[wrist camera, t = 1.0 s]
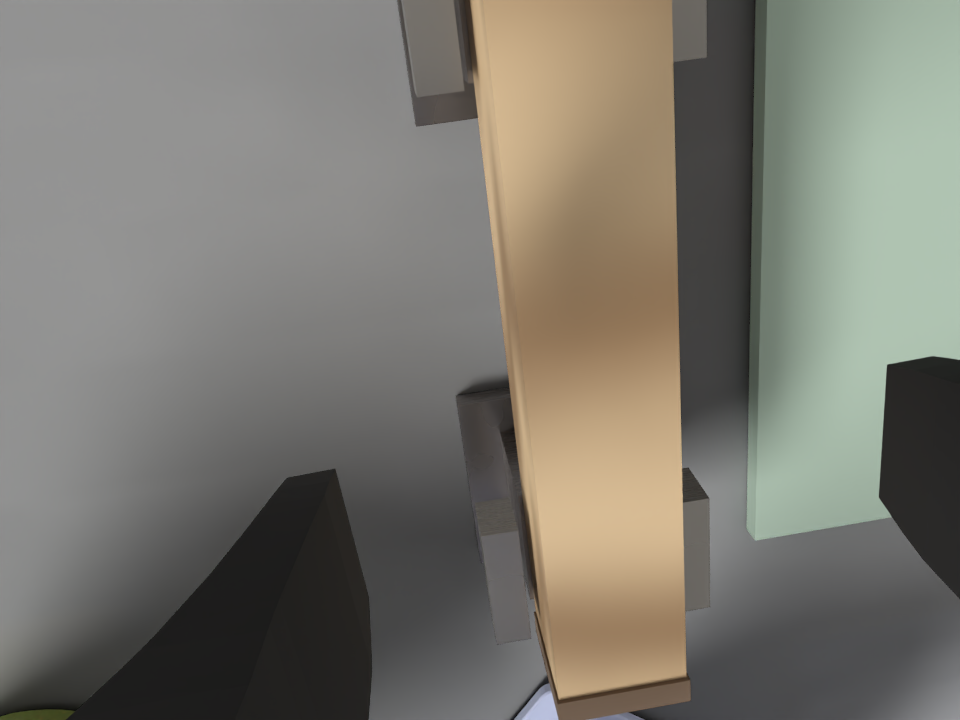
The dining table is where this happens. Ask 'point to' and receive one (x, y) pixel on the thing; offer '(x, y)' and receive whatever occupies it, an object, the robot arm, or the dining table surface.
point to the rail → (591, 332)
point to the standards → (488, 415)
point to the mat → (846, 243)
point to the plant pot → (39, 715)
